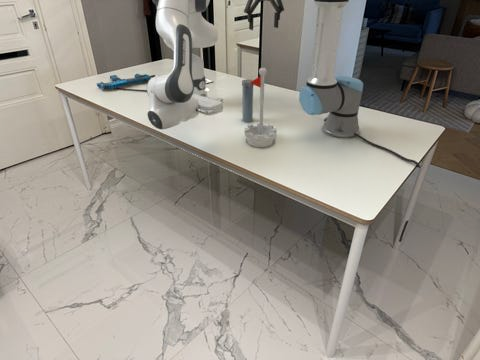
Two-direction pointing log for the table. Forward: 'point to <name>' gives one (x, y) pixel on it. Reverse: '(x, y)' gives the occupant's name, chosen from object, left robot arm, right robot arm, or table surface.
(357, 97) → the right robot arm
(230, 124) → the table surface
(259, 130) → the flag stand
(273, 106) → the table surface
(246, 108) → the jar
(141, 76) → the submachine gun
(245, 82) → the lid
